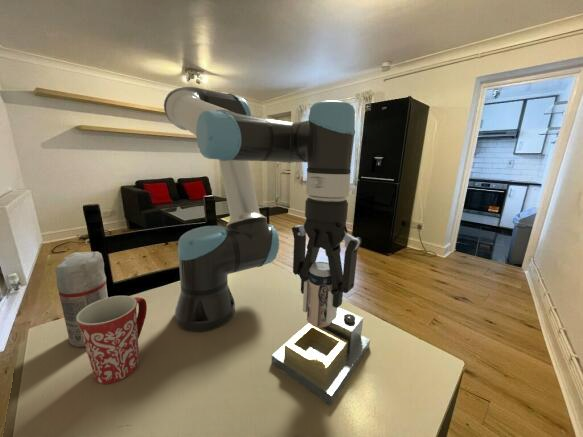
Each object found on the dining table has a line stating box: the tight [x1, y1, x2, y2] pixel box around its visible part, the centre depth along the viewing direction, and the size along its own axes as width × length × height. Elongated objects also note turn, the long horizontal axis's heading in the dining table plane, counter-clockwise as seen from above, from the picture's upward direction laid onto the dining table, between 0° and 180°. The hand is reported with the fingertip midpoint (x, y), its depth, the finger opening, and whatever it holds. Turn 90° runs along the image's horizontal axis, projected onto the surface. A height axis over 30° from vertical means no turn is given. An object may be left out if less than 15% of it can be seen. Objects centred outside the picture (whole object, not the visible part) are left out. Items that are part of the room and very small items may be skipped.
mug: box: [76, 295, 148, 385], centre depth 49 cm, size 13×9×14 cm
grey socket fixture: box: [271, 306, 371, 406], centre depth 53 cm, size 14×18×8 cm
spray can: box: [54, 251, 109, 348], centre depth 55 cm, size 8×8×20 cm
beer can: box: [306, 261, 332, 327], centre depth 48 cm, size 5×5×12 cm
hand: (319, 313), depth 49 cm, fingers closed on beer can, 5 cm apart
